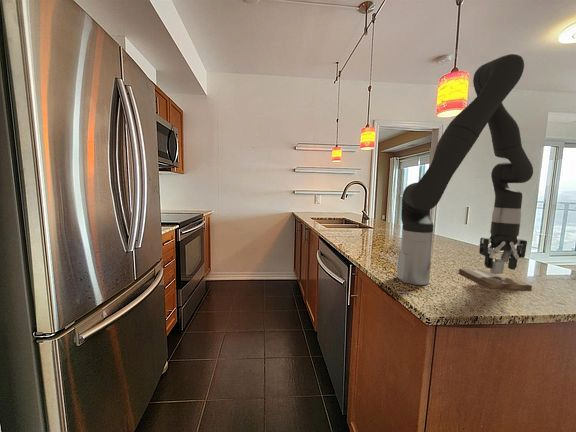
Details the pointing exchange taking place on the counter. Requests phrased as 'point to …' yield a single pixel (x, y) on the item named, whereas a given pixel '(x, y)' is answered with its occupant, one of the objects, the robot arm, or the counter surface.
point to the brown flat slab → (495, 279)
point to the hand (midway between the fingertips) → (500, 268)
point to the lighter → (500, 263)
